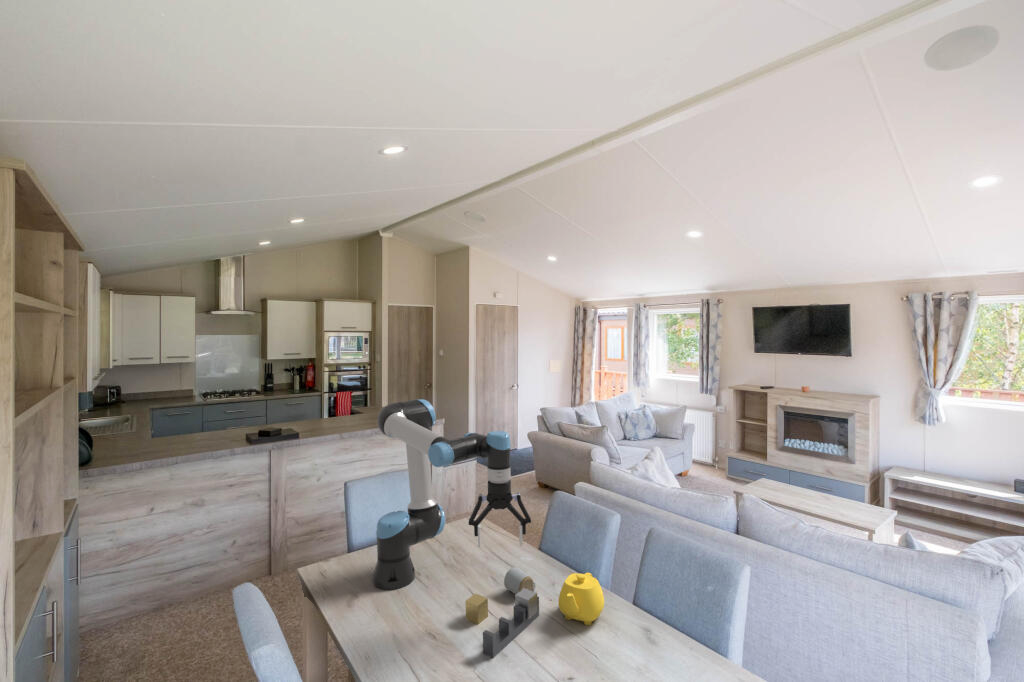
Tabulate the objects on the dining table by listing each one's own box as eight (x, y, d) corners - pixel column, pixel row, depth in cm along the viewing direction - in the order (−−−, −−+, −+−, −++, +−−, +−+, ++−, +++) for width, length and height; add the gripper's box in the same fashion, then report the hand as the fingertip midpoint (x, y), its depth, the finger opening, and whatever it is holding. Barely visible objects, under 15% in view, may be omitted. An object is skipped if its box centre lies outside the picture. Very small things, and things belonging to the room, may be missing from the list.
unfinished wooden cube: (465, 619, 151) (465, 600, 151) (475, 611, 155) (475, 593, 155) (478, 624, 148) (477, 605, 148) (488, 616, 152) (487, 598, 152)
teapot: (610, 606, 156) (610, 568, 156) (590, 641, 139) (589, 598, 138) (571, 596, 163) (570, 559, 163) (547, 628, 145) (546, 587, 145)
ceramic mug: (520, 602, 160) (520, 579, 160) (503, 592, 166) (503, 570, 166) (541, 590, 167) (541, 568, 167) (524, 581, 173) (524, 560, 173)
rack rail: (483, 653, 134) (482, 632, 134) (529, 611, 154) (529, 593, 154) (493, 658, 132) (492, 636, 132) (539, 615, 152) (538, 596, 152)
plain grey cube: (515, 614, 149) (515, 595, 149) (524, 606, 153) (524, 588, 153) (528, 619, 146) (528, 600, 146) (537, 611, 150) (537, 592, 150)
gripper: (459, 484, 150) (461, 551, 150) (538, 482, 151) (539, 548, 152) (461, 477, 158) (462, 541, 158) (536, 475, 159) (537, 538, 159)
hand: (500, 544), depth 155 cm, fingers open, 13 cm apart
